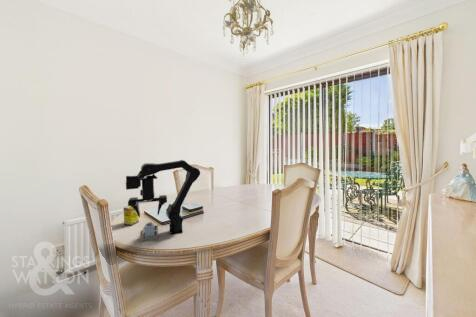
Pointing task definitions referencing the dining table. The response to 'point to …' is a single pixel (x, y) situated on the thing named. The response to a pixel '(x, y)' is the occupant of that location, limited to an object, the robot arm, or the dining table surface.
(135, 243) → the dining table surface
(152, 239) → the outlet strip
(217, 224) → the dining table surface
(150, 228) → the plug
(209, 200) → the dining table surface
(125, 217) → the supplement box
